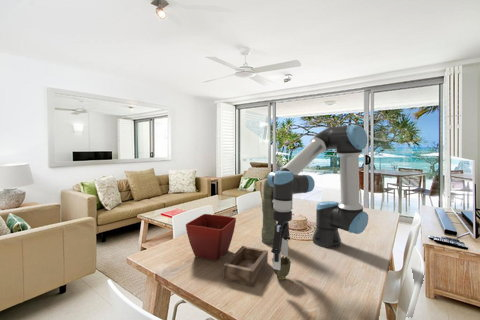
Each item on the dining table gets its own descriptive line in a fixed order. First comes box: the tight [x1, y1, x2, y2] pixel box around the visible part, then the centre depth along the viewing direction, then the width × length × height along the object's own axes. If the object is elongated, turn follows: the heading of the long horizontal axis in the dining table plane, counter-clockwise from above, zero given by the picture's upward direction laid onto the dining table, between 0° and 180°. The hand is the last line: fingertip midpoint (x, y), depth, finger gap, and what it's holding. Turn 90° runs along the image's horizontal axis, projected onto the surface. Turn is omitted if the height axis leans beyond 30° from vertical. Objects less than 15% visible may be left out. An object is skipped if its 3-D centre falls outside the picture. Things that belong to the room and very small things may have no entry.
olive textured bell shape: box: [271, 255, 292, 281], centre depth 96 cm, size 8×7×8 cm
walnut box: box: [223, 245, 269, 287], centre depth 102 cm, size 13×20×6 cm, turn 157°
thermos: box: [261, 179, 278, 245], centre depth 134 cm, size 9×12×35 cm
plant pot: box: [185, 213, 237, 262], centre depth 118 cm, size 19×19×17 cm
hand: (280, 261), depth 96 cm, fingers open, 13 cm apart
